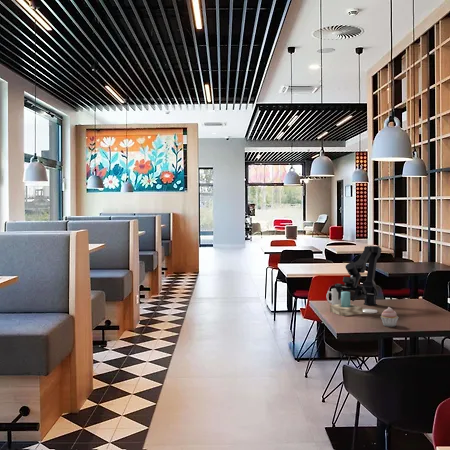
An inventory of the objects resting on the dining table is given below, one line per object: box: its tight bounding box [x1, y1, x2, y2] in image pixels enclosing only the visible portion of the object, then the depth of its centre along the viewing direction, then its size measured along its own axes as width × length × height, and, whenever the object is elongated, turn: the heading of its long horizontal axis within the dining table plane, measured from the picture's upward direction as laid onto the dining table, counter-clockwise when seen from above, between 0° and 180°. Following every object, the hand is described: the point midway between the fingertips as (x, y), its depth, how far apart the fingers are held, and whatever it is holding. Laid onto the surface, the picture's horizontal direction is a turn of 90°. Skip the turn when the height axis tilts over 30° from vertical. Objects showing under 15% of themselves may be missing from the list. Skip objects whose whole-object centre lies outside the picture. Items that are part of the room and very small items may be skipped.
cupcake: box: [380, 306, 399, 328], centre depth 258 cm, size 9×9×10 cm
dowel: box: [341, 290, 351, 308], centre depth 295 cm, size 5×5×12 cm
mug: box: [326, 287, 341, 305], centre depth 312 cm, size 10×7×12 cm, turn 73°
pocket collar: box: [329, 303, 364, 317], centre depth 295 cm, size 14×14×4 cm
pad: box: [363, 308, 378, 314], centre depth 296 cm, size 10×10×1 cm
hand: (345, 300), depth 295 cm, fingers open, 9 cm apart
